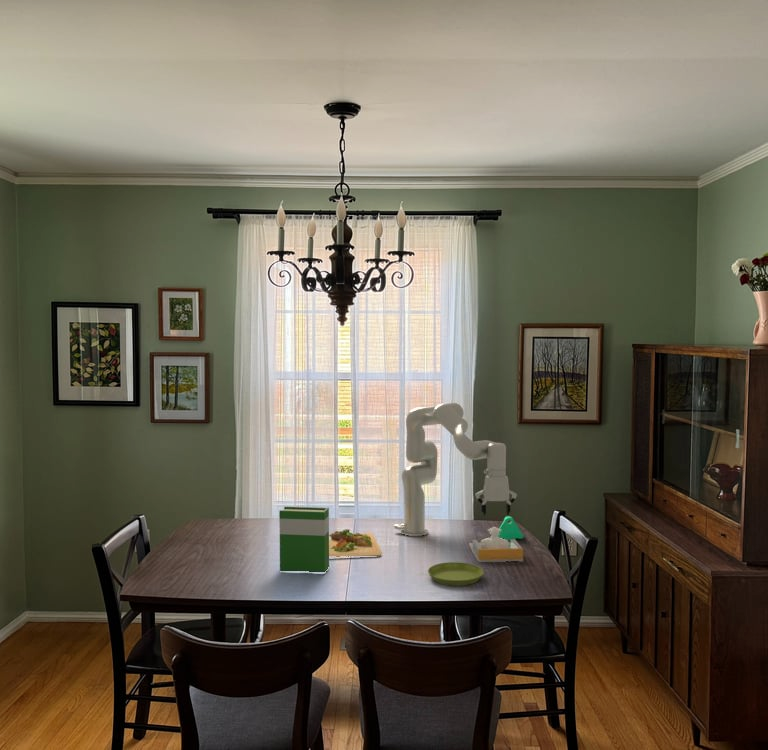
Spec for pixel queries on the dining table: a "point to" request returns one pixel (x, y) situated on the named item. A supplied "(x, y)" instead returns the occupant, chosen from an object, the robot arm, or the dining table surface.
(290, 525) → the green cereal box
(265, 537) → the dining table surface
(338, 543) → the cutting board
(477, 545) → the shallow tray
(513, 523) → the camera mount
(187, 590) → the dining table surface
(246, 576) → the dining table surface
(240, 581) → the dining table surface
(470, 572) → the saucer
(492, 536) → the bust
